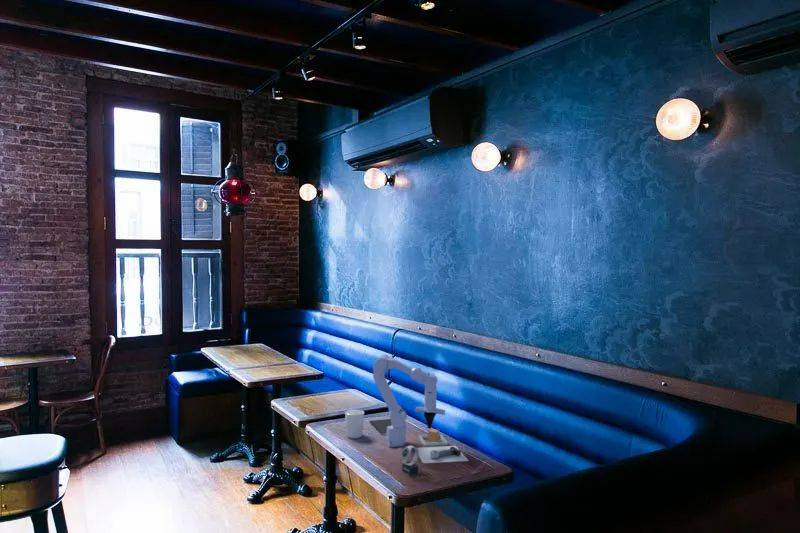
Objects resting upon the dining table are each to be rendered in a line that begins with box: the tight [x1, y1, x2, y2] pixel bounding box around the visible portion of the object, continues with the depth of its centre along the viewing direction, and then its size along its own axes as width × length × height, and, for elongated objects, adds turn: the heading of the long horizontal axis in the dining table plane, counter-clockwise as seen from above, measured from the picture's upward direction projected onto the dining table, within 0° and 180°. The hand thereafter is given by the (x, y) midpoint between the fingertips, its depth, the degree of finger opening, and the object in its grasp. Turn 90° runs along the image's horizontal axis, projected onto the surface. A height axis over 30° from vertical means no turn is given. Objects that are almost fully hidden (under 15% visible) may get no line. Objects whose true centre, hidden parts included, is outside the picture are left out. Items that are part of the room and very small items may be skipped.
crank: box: [430, 447, 462, 459], centre depth 250 cm, size 14×6×3 cm, turn 119°
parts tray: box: [418, 433, 449, 447], centre depth 269 cm, size 12×12×2 cm
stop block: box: [427, 428, 440, 443], centre depth 269 cm, size 4×4×6 cm
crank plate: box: [413, 445, 469, 464], centre depth 253 cm, size 21×19×1 cm
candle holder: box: [344, 408, 365, 439], centre depth 278 cm, size 10×10×12 cm
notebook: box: [369, 418, 392, 436], centre depth 292 cm, size 13×2×21 cm
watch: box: [400, 445, 420, 476], centre depth 234 cm, size 6×8×11 cm
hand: (429, 427), depth 264 cm, fingers closed
